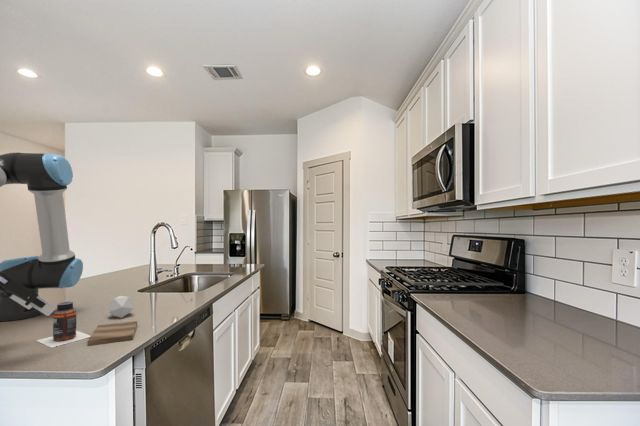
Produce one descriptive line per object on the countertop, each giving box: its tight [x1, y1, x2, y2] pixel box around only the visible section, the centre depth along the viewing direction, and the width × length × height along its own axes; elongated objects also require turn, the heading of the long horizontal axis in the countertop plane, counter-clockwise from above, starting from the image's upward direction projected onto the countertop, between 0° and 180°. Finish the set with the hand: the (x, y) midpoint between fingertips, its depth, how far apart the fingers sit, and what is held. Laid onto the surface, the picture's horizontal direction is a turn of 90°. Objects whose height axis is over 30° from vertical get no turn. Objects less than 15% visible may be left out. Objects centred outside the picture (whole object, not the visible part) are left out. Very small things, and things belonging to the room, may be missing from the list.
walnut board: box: [87, 320, 138, 347], centre depth 108 cm, size 16×12×2 cm
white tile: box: [35, 330, 91, 349], centre depth 104 cm, size 11×11×1 cm
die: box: [107, 295, 134, 319], centre depth 129 cm, size 8×9×10 cm
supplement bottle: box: [52, 301, 77, 341], centre depth 105 cm, size 6×6×11 cm
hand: (42, 308), depth 99 cm, fingers open, 13 cm apart
